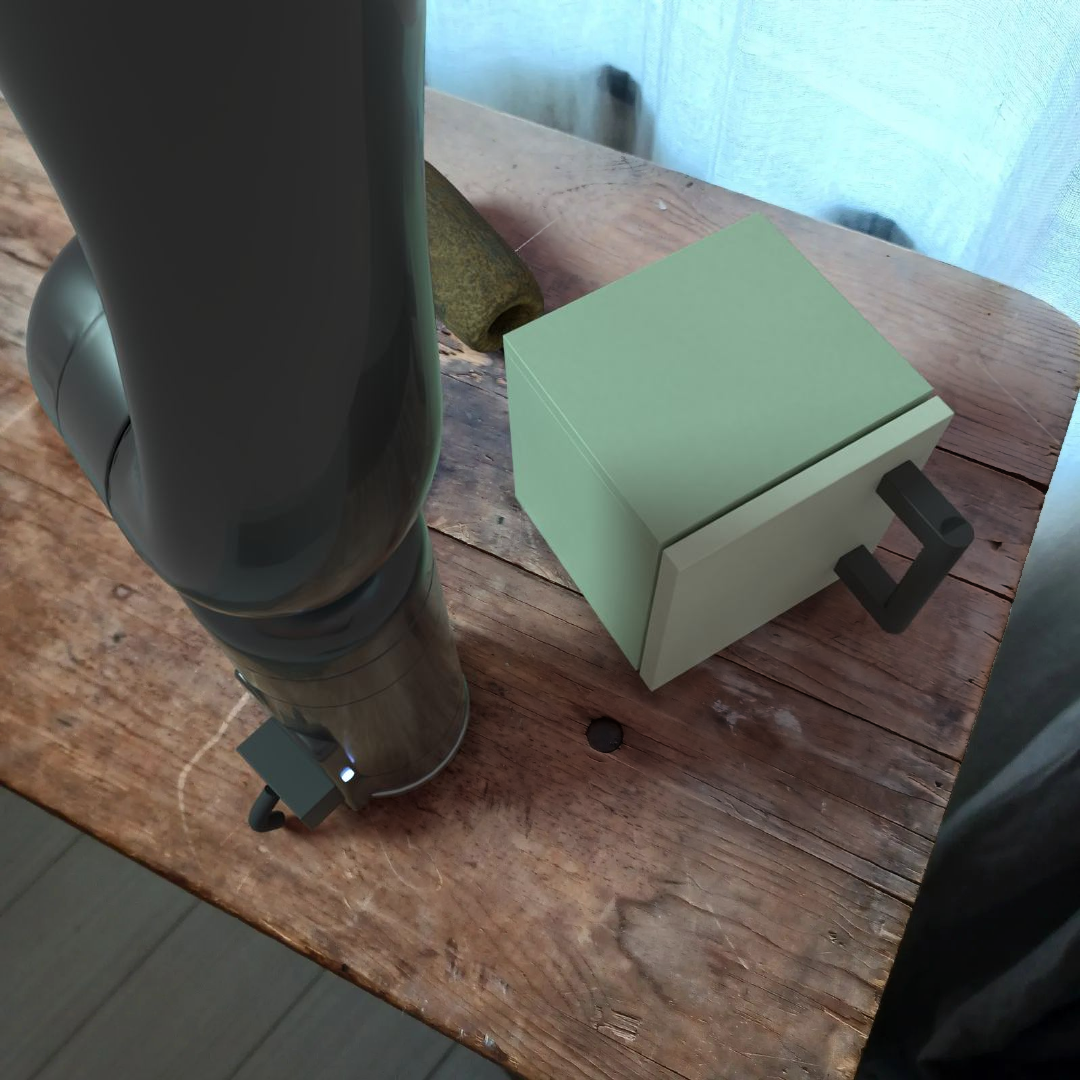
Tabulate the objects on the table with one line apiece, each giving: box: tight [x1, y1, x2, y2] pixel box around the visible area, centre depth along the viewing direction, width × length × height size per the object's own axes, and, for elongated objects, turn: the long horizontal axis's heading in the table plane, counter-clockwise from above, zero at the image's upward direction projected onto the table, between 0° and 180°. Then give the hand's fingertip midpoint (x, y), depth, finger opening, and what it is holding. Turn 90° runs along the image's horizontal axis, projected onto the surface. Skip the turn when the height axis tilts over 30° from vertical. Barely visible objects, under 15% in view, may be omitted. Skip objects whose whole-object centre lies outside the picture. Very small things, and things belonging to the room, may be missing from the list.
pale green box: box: [503, 210, 935, 671], centre depth 54 cm, size 13×15×15 cm
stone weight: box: [424, 158, 545, 354], centre depth 66 cm, size 15×7×7 cm, turn 40°
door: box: [639, 395, 975, 692], centre depth 50 cm, size 6×15×15 cm, turn 121°
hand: (1068, 22), depth 41 cm, fingers open, 8 cm apart
